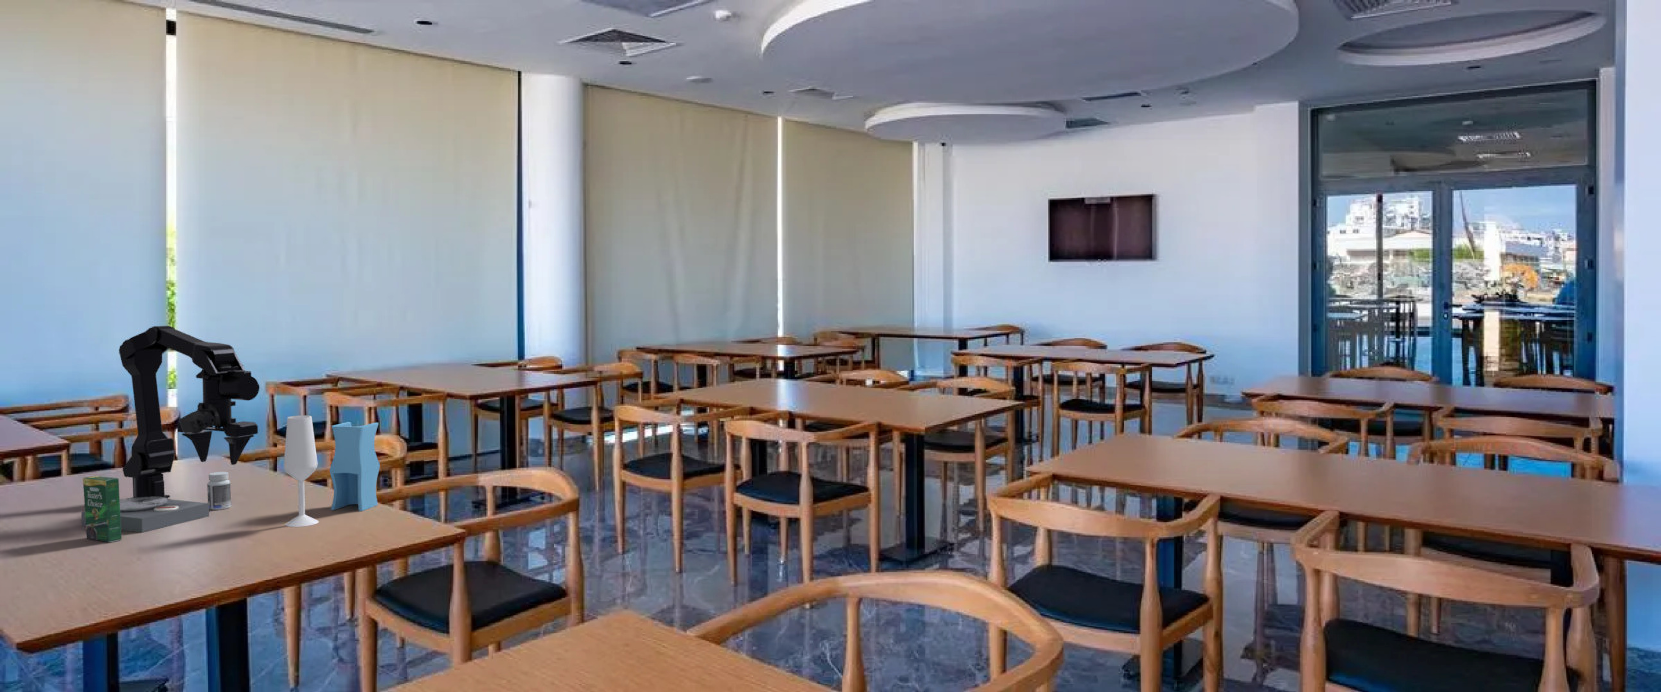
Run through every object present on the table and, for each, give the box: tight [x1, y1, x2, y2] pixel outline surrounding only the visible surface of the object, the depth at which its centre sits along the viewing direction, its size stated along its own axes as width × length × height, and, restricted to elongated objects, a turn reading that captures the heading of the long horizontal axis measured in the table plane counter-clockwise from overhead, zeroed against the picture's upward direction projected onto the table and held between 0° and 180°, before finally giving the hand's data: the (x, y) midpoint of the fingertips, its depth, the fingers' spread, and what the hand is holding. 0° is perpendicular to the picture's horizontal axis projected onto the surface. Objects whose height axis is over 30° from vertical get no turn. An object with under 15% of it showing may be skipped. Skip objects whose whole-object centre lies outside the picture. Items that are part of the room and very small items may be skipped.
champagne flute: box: [283, 415, 320, 528], centre depth 223 cm, size 7×7×24 cm
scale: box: [81, 498, 210, 533], centre depth 225 cm, size 18×16×4 cm
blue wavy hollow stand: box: [329, 421, 381, 512], centre depth 240 cm, size 8×8×20 cm
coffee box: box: [82, 475, 122, 543], centre depth 208 cm, size 8×3×13 cm, turn 66°
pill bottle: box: [206, 471, 232, 511], centre depth 238 cm, size 5×5×8 cm
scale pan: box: [120, 497, 168, 512], centre depth 225 cm, size 11×11×1 cm
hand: (218, 463), depth 237 cm, fingers open, 9 cm apart
